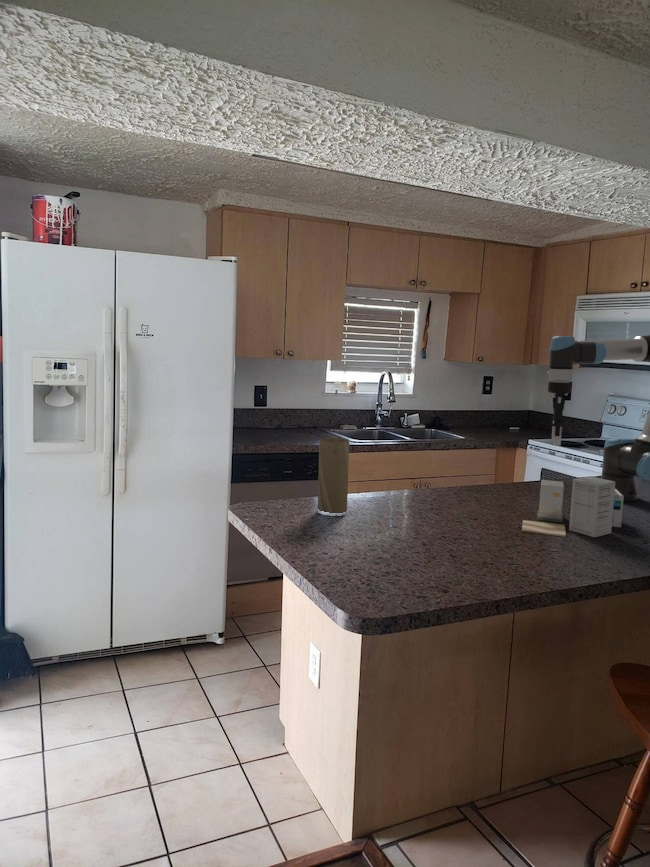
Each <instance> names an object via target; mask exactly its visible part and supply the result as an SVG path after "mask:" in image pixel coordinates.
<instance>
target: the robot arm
mask: <svg viewBox="0 0 650 867" xmlns="http://www.w3.org/2000/svg"><path fill="white" fill-rule="evenodd" d="M548 354H549V371H547V375H548V380H549V382H548V383H547V385H548V386H547V392H548V393H552V394H554V397H552V410H553V415H552V423H551V428H552V429H551V440H552V443H551V446H555V447H556V446H559V447H560V446H561V444H562V432H563V421H564V420H563V413H564V412H563V411H564V409H565V403H566V398H565V397H563V396H564V394H570V393H571V392H572V385H573V384H572V382H571V381H573V372H574V370H573V367H574V365H595V364H596V365H598V364H601V363H603V362H604V361H622V360H623V361H625V360H633V361H634V362H636V363H638V362H639V363H640V362H642V363H650V334H649V335H638V336H637V335H636V336H635V337H634V338H629V339H628V338H623V339H596V340H595V339H593V340H590V339H589V340H588V339H587V340H575V337H574V336H573V335H571V336H570V335H555V336H553V337H552V338H551V342H550V347H549V350H548ZM642 428H643V429H642V431H641V434H640V435H638V436H636V437H635V438H624V437H623V438H620V437H619V438H607V439H606V440H605V442H604V447H603V454H602V455H603V457H602V470H601V477H600V479H605V480H610V481H615V489H617V490H618V491H619V492H620V493H621V494H622V495H623V496H624V500H623V502H635V501H637V500H638V499H639V498H638V497H639V493H638V488H637V484H636V481H635V480H636V478H635V477H637V478H640V479H643V480H646V481H647V480H648V481H650V409H649V411H648V412H647V417H646V420H645V423H644V426H643V427H642Z"/></svg>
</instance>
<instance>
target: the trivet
mask: <svg viewBox="0 0 650 867" xmlns="http://www.w3.org/2000/svg"><path fill="white" fill-rule="evenodd" d="M521 533H527V534H535V535H536V534H537V535H545V536H554V537H555V536H556V537H564V538H566V537H567V534H566V525H565V524H564V523H562V524H561V523H556V522H554V523H553V522H547V521H545V522H544V521H538V520H537V521H534V520H524V519H522V526H521Z"/></svg>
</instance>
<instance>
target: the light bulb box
mask: <svg viewBox="0 0 650 867" xmlns="http://www.w3.org/2000/svg"><path fill="white" fill-rule="evenodd" d="M623 500H624V496H623V495H622V494H621V493H620V492H619V491H618V490H617V489H615V493H614V504H613V516H612V527H614V528H621V527H622V520H623V511H624V510H623V509H624V508H623V507H624V501H623Z"/></svg>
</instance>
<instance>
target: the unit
mask: <svg viewBox="0 0 650 867" xmlns="http://www.w3.org/2000/svg"><path fill="white" fill-rule="evenodd" d="M540 481H541V483H540V494H539V503H538V504H539V508H538V510H537V512H536V516H537V517H536V520H537V521H543V522H544V521H545V522H552V523H553V522H554V523H563V512H562V511H563V510H562V509H563V501H564V500H563V499H564V490H565V485H564V481H558V480H550V479H549V480H548V479H541V480H540Z"/></svg>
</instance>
